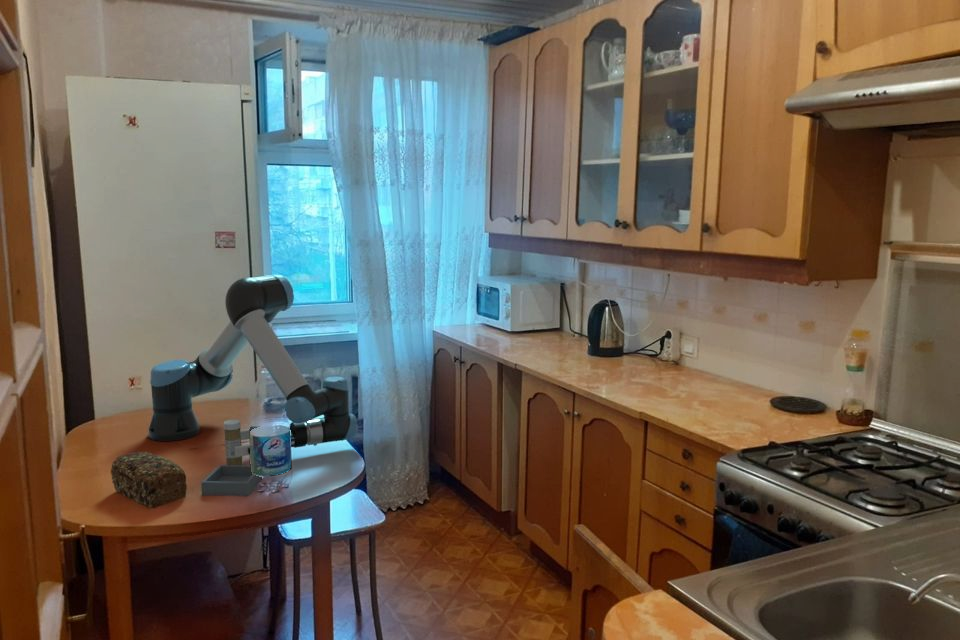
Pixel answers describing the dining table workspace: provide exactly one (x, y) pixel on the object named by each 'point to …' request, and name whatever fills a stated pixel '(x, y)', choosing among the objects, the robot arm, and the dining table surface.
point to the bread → (148, 478)
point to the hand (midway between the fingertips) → (230, 444)
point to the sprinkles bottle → (232, 441)
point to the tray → (230, 481)
